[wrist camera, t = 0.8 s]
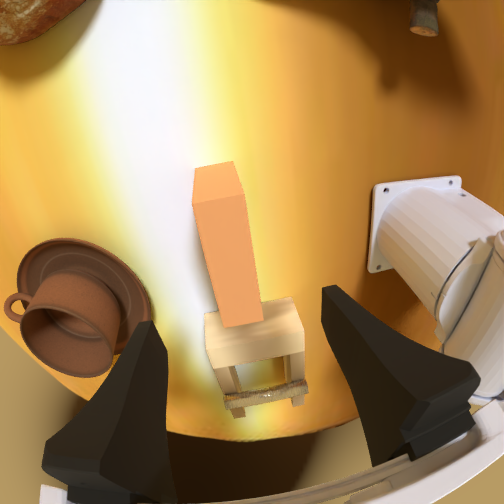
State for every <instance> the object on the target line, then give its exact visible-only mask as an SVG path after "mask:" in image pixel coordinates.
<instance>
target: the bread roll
mask: <svg viewBox="0 0 504 504" xmlns="http://www.w3.org/2000/svg"><path fill="white" fill-rule="evenodd" d="M83 2H85V0H0V45H13V44H17V43H22V42H26V41H29V40H31V39H34V38H36V37H38V36H40V35H42V34H43V33H45V32H46V31H47V30H49V29H50V28H51V27H53V26H55V25H56V23H57V22H58V21H60V20H62V19H64V18H65V17H66V16H67V15H68V14H70V13H71V12H72V11H73V10H75V9H76V8H77V7H79V6H80V5H81V4H82V3H83Z"/></svg>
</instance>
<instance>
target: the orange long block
mask: <svg viewBox="0 0 504 504" xmlns="http://www.w3.org/2000/svg"><path fill="white" fill-rule="evenodd" d="M192 207H193V211H194V215H195V219H196V224H197V228H198V232H199V236H200V240H201V244H202V248H203V252H204V256H205V260H206V264H207V267H208V271H209V275H210V279H211V283H212V286H213V290H214V294H215V297H216V301H217V305H218V308H219V312H220V315H221V319H222V322H223V326H224V328H227V327H233V326H238V325H244V324H249V323H254V322H259V321H264V319H263V312H262V306H261V299H260V293H259V286H258V279H257V273H256V266H255V260H254V253H253V247H252V240H251V234H250V227H249V220H248V214H247V207H246V201H245V194H244V191H243V188H242V186H241V183H240V180H239V177H238V174H237V172H236V169H235V166H234V163H233V161H231V162H225V163H220V164H214V165H209V166H204V167H199V168H195V176H194V186H193V196H192Z"/></svg>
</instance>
